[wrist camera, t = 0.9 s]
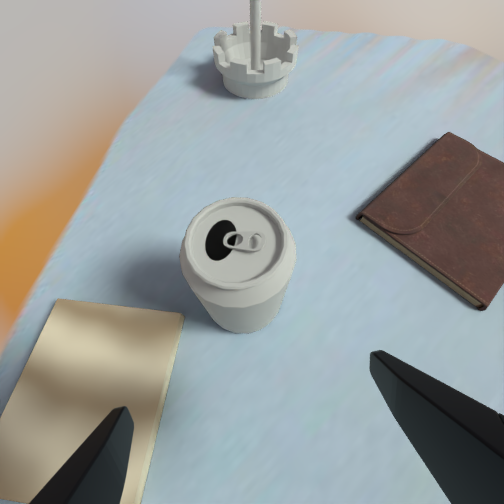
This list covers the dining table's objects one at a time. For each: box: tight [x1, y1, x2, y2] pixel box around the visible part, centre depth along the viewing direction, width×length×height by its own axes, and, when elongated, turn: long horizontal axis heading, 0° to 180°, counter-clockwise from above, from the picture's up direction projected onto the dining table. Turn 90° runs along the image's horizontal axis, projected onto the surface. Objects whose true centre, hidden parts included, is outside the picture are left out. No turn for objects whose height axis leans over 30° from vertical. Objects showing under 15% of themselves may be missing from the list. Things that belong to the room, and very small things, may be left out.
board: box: [0, 299, 185, 504], centre depth 21 cm, size 14×12×2 cm
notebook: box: [356, 132, 504, 311], centre depth 29 cm, size 15×20×2 cm
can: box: [179, 197, 296, 334], centre depth 20 cm, size 8×8×12 cm
